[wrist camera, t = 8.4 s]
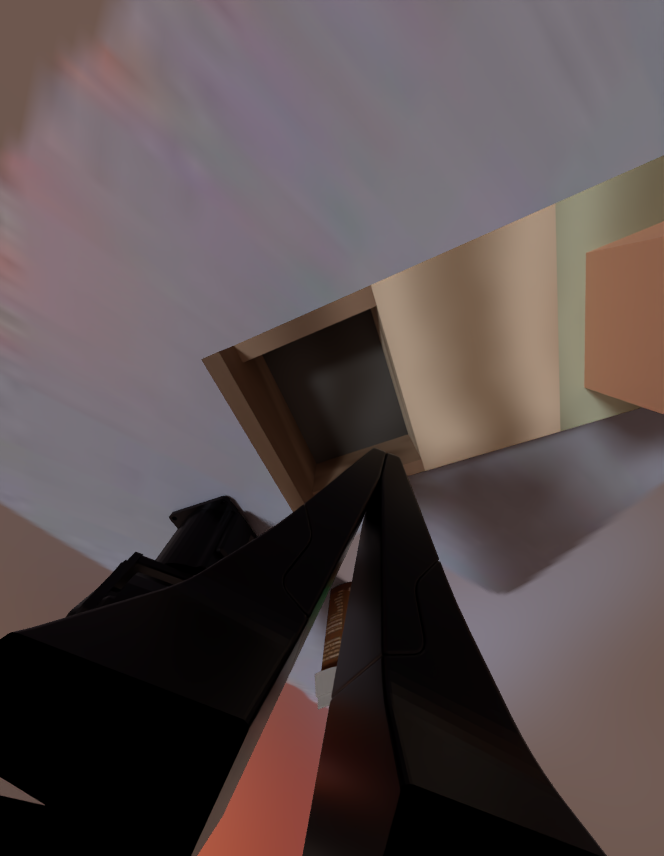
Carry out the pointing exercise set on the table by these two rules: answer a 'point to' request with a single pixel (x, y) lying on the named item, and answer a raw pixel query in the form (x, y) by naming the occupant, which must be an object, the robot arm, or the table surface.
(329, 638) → the food container
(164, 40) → the table surface
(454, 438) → the track
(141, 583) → the robot arm
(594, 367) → the terracotta block
